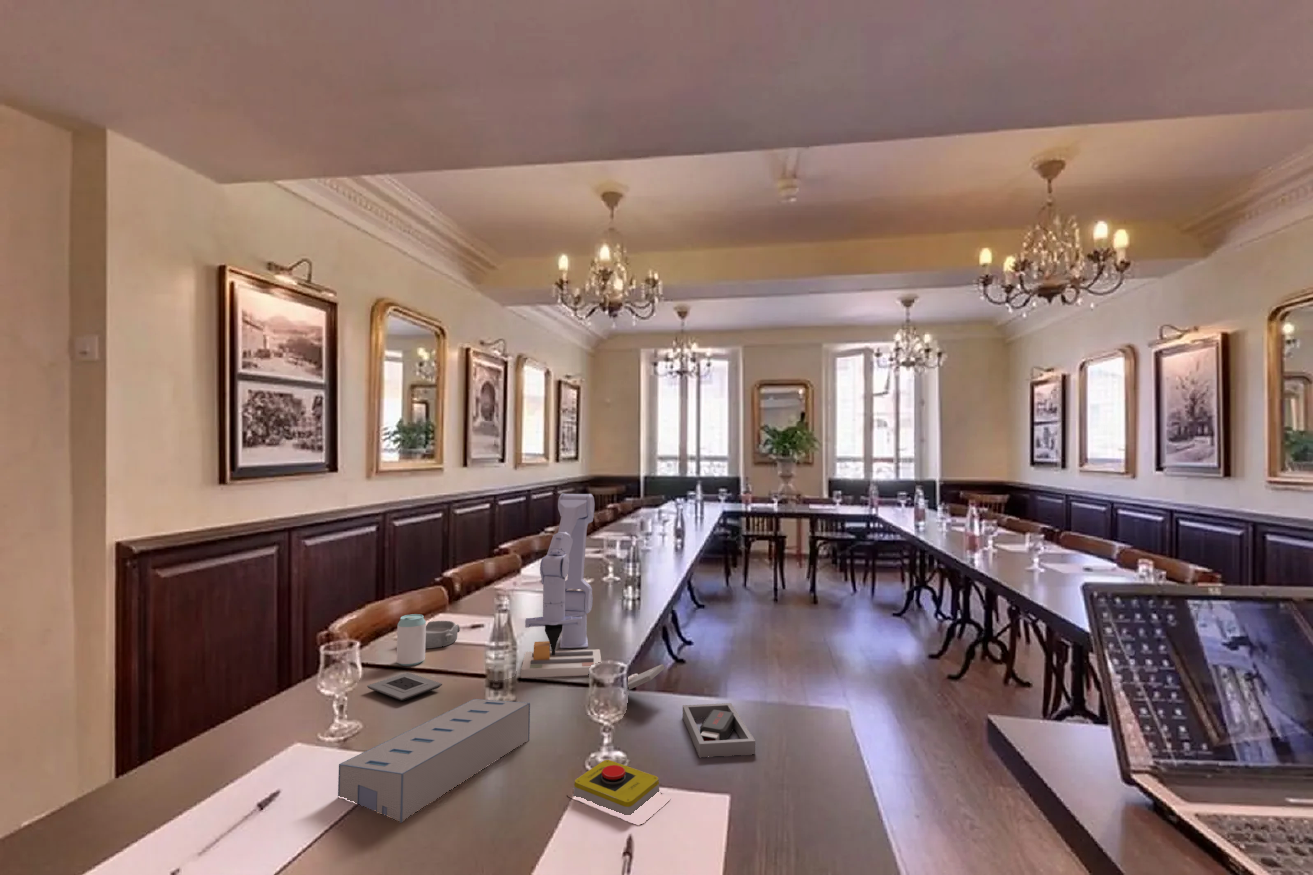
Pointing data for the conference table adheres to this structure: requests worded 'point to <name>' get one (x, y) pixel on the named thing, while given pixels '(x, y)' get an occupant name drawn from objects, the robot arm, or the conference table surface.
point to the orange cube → (542, 650)
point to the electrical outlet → (404, 686)
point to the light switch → (644, 676)
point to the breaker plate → (560, 663)
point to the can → (411, 639)
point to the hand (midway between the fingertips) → (553, 654)
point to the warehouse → (433, 757)
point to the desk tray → (719, 746)
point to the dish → (441, 633)
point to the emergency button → (616, 786)
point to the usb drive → (717, 725)
